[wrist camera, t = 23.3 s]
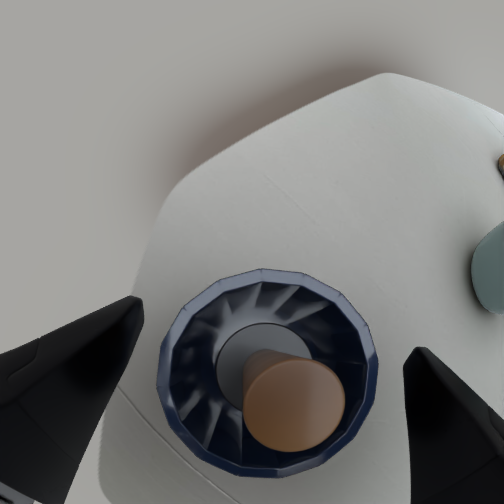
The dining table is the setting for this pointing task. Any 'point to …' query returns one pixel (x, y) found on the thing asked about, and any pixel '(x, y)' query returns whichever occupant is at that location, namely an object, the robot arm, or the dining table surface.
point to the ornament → (501, 164)
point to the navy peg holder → (235, 318)
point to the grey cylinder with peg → (279, 387)
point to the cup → (490, 270)
